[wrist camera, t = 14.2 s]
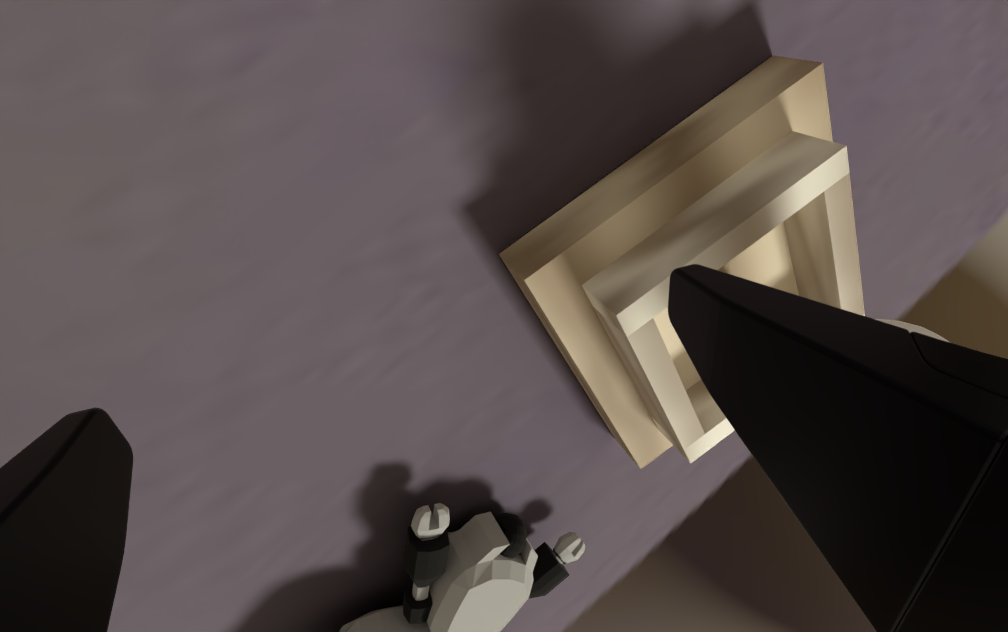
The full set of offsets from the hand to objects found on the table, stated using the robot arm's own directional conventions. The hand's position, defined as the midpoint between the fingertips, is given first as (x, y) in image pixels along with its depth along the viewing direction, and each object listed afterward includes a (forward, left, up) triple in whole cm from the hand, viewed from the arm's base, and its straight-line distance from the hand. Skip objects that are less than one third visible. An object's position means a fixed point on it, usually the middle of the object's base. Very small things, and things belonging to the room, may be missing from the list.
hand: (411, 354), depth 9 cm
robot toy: (-10, -22, -13) cm, 27 cm away
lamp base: (+10, -14, -12) cm, 21 cm away
